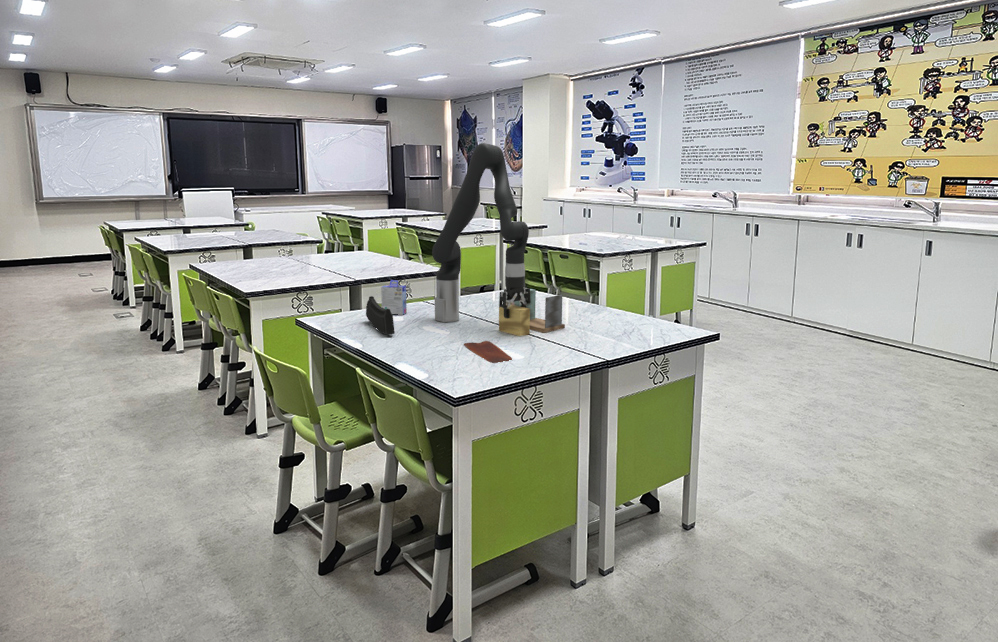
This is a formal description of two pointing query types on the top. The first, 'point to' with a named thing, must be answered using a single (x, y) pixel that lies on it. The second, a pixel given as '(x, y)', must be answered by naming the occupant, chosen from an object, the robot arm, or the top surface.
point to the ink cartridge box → (394, 298)
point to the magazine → (380, 317)
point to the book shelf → (551, 313)
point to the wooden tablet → (488, 351)
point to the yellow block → (515, 321)
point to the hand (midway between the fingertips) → (515, 316)
